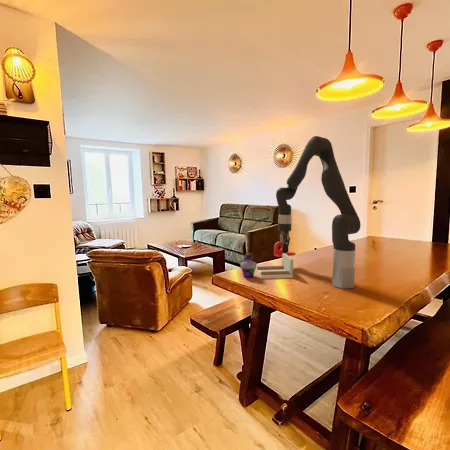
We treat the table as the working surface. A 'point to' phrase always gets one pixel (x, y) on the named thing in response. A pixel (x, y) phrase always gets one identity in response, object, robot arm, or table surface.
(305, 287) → the table surface
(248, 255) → the potion bottle
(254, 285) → the table surface
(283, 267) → the cleat board
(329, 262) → the table surface
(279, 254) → the bracket
